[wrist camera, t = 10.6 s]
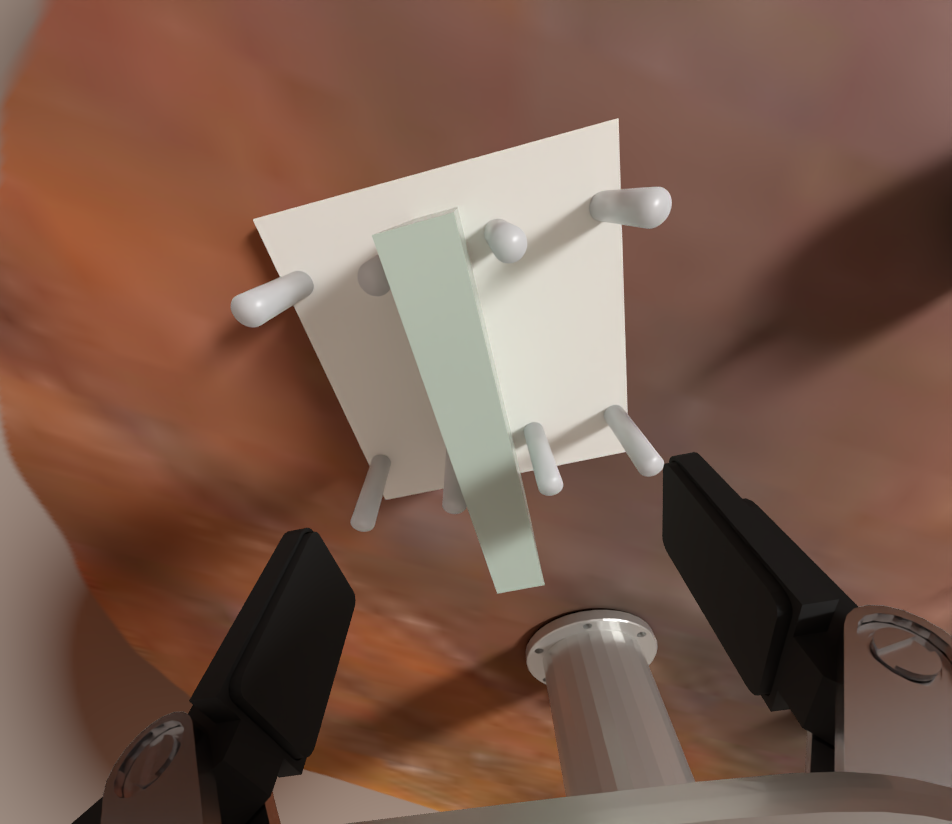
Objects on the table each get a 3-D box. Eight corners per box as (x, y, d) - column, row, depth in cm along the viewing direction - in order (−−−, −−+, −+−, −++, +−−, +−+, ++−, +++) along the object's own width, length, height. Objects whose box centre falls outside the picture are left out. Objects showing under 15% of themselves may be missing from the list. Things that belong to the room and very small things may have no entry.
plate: (414, 218, 17) (371, 235, 9) (457, 206, 16) (453, 212, 9) (485, 462, 23) (497, 593, 16) (516, 455, 23) (544, 585, 15)
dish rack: (619, 437, 25) (666, 508, 19) (389, 484, 26) (369, 564, 20) (606, 124, 16) (681, 85, 11) (268, 217, 18) (177, 226, 12)
